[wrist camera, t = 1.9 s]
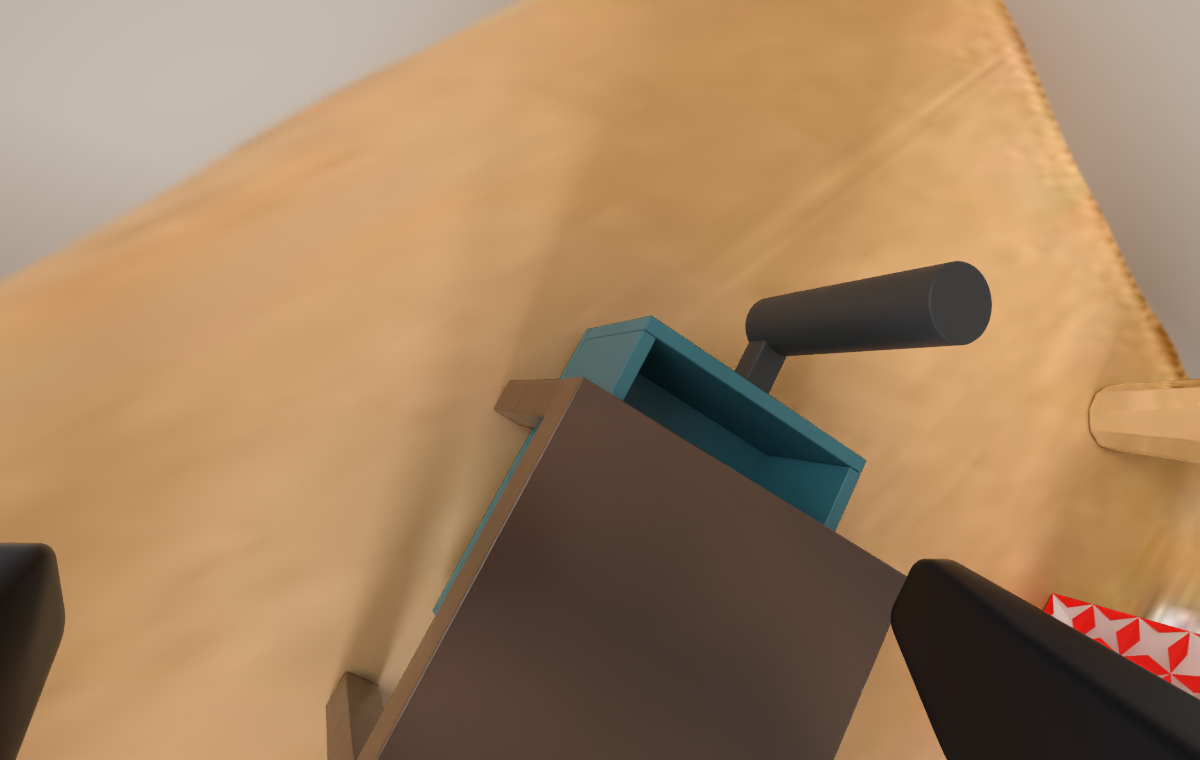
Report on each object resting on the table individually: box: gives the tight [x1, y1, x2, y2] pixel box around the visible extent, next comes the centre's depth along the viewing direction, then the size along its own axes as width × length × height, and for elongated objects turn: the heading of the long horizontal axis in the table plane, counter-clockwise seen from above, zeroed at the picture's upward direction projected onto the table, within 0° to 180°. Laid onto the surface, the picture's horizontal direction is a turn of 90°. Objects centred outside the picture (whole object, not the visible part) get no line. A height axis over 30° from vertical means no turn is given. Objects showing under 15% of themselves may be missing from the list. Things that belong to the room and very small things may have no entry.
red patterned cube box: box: [1044, 593, 1200, 700], centre depth 31 cm, size 8×8×8 cm
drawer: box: [433, 261, 992, 616], centre depth 21 cm, size 14×9×12 cm, turn 149°
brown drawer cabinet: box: [326, 377, 907, 760], centre depth 22 cm, size 12×12×8 cm
